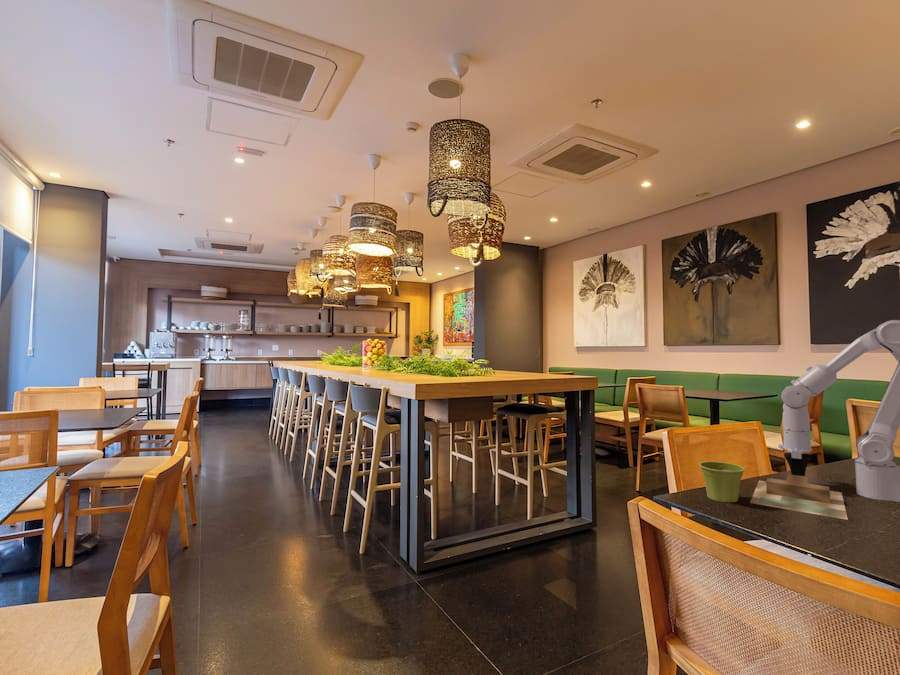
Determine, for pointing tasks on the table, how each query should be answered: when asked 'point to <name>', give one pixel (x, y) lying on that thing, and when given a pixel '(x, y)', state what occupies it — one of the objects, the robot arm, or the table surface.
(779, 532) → the table surface
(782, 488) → the t block
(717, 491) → the plant pot
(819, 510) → the t board
